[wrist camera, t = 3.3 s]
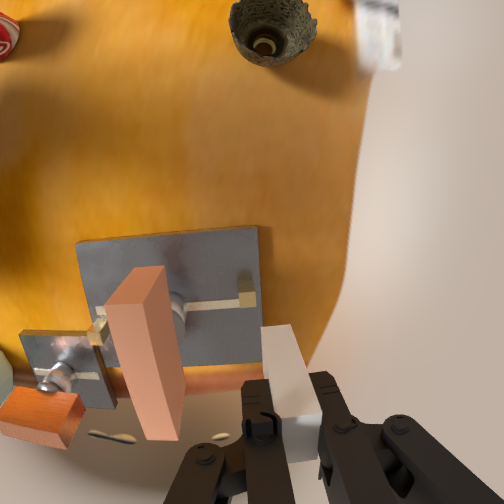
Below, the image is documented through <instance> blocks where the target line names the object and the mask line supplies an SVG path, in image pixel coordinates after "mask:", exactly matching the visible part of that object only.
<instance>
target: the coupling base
mask: <svg viewBox="0 0 504 504" xmlns="http://www.w3.org/2000/svg"><path fill="white" fill-rule="evenodd" d="M75 247H76V253H77V258H78V263H79V268H80V273H81V278H82V282H83V287H84V291H85V295H86V299H87V303H88V307H89V311H90V315H91V319H92V322H93V324H92V326H91V327H90V329H89V330H88V331H87V336H88V339H89V342H90V345H99V347H100V350H101V353H102V356H103V359H104V362H105V366H106V367H121V366H120V363H119V360H118V356H117V353H116V350H115V346H114V343H113V339H112V335H111V332H110V328H109V324H108V320H107V316H106V312H105V308H104V304H105V303H106V302H107V300H108V299H109V298H110V297H111V295H112V294H113V293H114V292H115V291H116V289H117V288H118V287H119V286H120V284H121V283H122V282H123V281H124V279H125V278H126V277H127V276H128V275H129V273H130V272H131V271H132V270H133V269H134V268H135V267H148V266H161V265H165V271H166V278H167V284H168V291H169V297H170V303H171V309H172V310H174V311H176V312H177V313H178V314H179V315H180V316H181V317H182V319H183V321H184V324H185V334H184V338H183V341H182V343H181V344H180V345H179V346H178V347H179V352H180V357H181V362H182V367H188V366H209V365H225V364H238V363H250V362H261V361H263V359H262V341H261V327H263V318H262V300H261V282H260V264H259V247H258V230H257V226H256V225H249V226H236V227H223V228H210V229H198V230H187V231H175V232H164V233H153V234H142V235H132V236H122V237H112V238H102V239H93V240H83V241H79V242H77V243H76V244H75Z"/></svg>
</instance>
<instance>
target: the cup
mask: <svg viewBox="0 0 504 504" xmlns="http://www.w3.org/2000/svg"><path fill="white" fill-rule="evenodd" d="M229 25H230V29H231V33H232V36H233V40H234V43H235V45H236V47H237V49H238V51H239V52H240V54H241V55H242V56H243V57H244V58H245V59H247V60H248V61H250V62H251V63H253V64H256V65H259V66H264V67H274V66H279V65H283V64H285V63H287V62H289V61H291V60H292V59H294V58H295V57H296V56H298V55H299V54H300V53H301V52H303V51H305V50H306V49H307V48H308V47H309V45H310V43H311V42H312V41H313V40H314V38H315V37H316V34H317V30H316V29H317V28H316V25H317V19H312V18H311V14H310V13H309V12H308V3H303V2H302V0H240V1H239V2H236V3H234V4H233V5H232V7H231V11H230V17H229ZM260 43H267V44H269V45H270V46H271V48H272V51H271V53H270V54H269V55H262V54H260V53H258V52H257V51H256V47H257V45H258V44H260Z"/></svg>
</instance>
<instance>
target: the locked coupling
mask: <svg viewBox="0 0 504 504" xmlns="http://www.w3.org/2000/svg"><path fill="white" fill-rule="evenodd" d="M19 337H20V340H21V343H22V345H23V348H24V351H25V353H26V356H27V358H28V361H29V363H30V366H31V368H32V370H33V373H34V375H35V377H36V380H37V382H38V385H37V386H36V388H35V389H34V388H27V387H20V386H17V387H16V389H15V390H14V391H13V392H12V394H11V395H10V396H9V398H8V399H7V401H6V402H5V403H4V404H3V406H2V407H1V409H0V431H1V432H2V434H3V435H6V436H10V437H13V438H17V439H20V440H24V441H28V442H32V443H36V444H41V445H45V446H50V447H55V448H60V449H65V450H67V449H68V447H69V445H70V442H71V440H72V438H73V436H74V434H75V432H76V429H77V427H78V425H79V423H80V421H81V419H82V417H83V415H84V412H85V410H86V409H85V407H89V408H101V409H115V408H116V406H117V403H118V402H117V400H116V397H115V394H114V392H113V389H112V386H111V383H110V381H109V378H108V375H107V372H106V369H105V366H104V363H103V360H102V357H101V354H100V351H99V347H98V345H90V342H89V339H88V336H87V331H48V330H23V331H22V332H21V333H20V334H19Z"/></svg>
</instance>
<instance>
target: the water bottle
mask: <svg viewBox="0 0 504 504" xmlns="http://www.w3.org/2000/svg"><path fill="white" fill-rule="evenodd" d="M12 389H13V368H12V366H11V364H10V363H9V361H8V360H7V358H6V356H5V355H4V353H3V352H2V350H0V405H1V404H2V402H3V401H4V400H5V399H6V397H7V396H8V395H9V393H10V392H11V391H12Z"/></svg>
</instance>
